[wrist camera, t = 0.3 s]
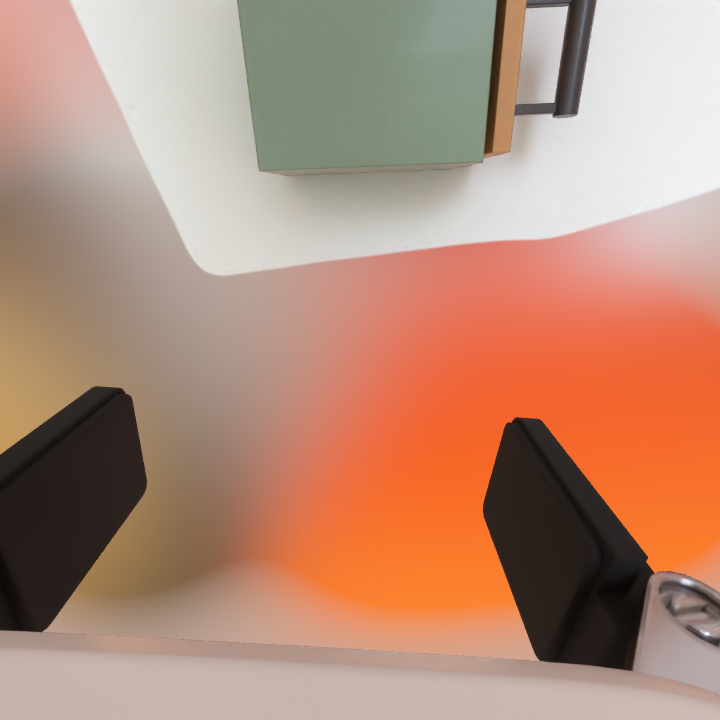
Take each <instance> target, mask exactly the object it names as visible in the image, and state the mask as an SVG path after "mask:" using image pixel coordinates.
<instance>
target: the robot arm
mask: <svg viewBox="0 0 720 720" xmlns="http://www.w3.org/2000/svg"><path fill="white" fill-rule="evenodd" d="M146 486H147V478H146V473H145V467H144V462H143V456H142V451H141V445H140V439H139V434H138V428H137V423H136V417H135V412H134V406H133V401H132V398H131V396H130V395H128V394H126V393H125V391H124V390H123V389H121V388H113V387H99V386H95V387H93V388H91V389H90V390H88V391H87V392H85V393H84V394H83V395H81V396H80V397H79V398H77V399H76V400H75V401H73V402H72V403H70V404H69V405H68V406H66V407H65V408H64V409H62V410H61V411H59V412H58V413H57V414H55V415H54V416H53V417H51V418H50V419H48V420H47V421H46V422H44V423H43V424H42V425H40V426H39V427H38V428H36V429H35V430H33V431H32V432H31V433H29V434H28V435H27V436H25V437H24V438H23V439H21V440H20V441H18V442H17V443H16V444H14V445H13V446H12V447H10V448H9V449H7V450H6V451H5V452H3V453H2V454H0V720H720V593H719V592H718V591H716V590H715V589H713V588H711V587H710V586H708V585H706V584H704V583H703V582H701V581H699V580H697V579H694V578H692V577H690V576H687V575H685V574H681V573H676V572H672V571H659V572H657V573H654V572H653V571H652V569H651V568H650V566H649V565H648V564H647V563H646V560H647V559H648V556H647V555H646V554H645V553H644V551H643V550H642V549H641V548H640V546H639V545H638V544H637V542H636V541H635V540H634V538H633V537H632V536H631V535H630V534H629V532H628V531H627V529H626V528H625V527H624V526H623V524H622V523H621V522H620V521H619V519H618V518H617V517H616V515H615V514H614V513H613V511H612V510H611V509H610V508H609V506H608V505H607V504H606V503H605V501H604V500H603V499H602V497H601V496H600V495H599V494H598V492H597V491H596V490H595V488H594V487H593V486H592V485H591V483H590V482H589V481H588V479H587V478H586V477H585V476H584V474H583V473H582V472H581V471H580V469H579V468H578V467H577V465H576V464H575V463H574V462H573V460H572V459H571V458H570V456H569V455H568V454H567V453H566V451H565V450H564V449H563V447H562V446H561V445H560V444H559V442H558V441H557V440H556V438H555V437H554V436H553V435H552V433H551V432H550V431H549V429H548V428H547V427H546V426H545V424H544V423H543V422H542V421H541V420H540V419H532V418H518V417H516V418H514V420H513V421H512V423H507V424H506V425H505V428H504V431H503V435H502V439H501V442H500V446H499V449H498V453H497V456H496V460H495V464H494V467H493V471H492V474H491V478H490V482H489V485H488V489H487V492H486V496H485V500H484V504H483V514H484V519H485V521H486V524H487V527H488V529H489V532H490V535H491V538H492V540H493V543H494V546H495V548H496V551H497V554H498V556H499V559H500V562H501V564H502V567H503V570H504V572H505V575H506V578H507V580H508V583H509V586H510V589H511V591H512V594H513V596H514V599H515V602H516V605H517V607H518V610H519V613H520V615H521V618H522V621H523V623H524V626H525V629H526V631H527V634H528V637H529V640H530V642H531V645H532V648H533V650H534V653H535V655H536V656H537V658H538V659H539V660H540V661H529V660H516V659H504V658H490V657H474V656H458V655H442V654H426V653H409V652H394V651H376V650H361V649H345V648H327V647H310V646H309V647H308V646H292V645H274V644H257V643H239V642H220V641H202V640H184V639H166V638H165V639H164V638H146V637H125V636H106V635H86V634H66V633H46V632H44V633H43V631H44V630H45V629H47V628H48V626H49V625H50V624H51V623H52V621H53V620H54V619H55V617H56V616H57V615H58V613H59V612H60V610H61V609H62V608H63V606H64V605H65V603H66V602H67V601H68V599H69V598H70V596H71V595H72V594H73V592H74V591H75V589H76V588H77V587H78V585H79V584H80V582H81V581H82V580H83V578H84V577H85V576H86V574H87V573H88V571H89V570H90V569H91V567H92V566H93V564H94V563H95V562H96V560H97V559H98V557H99V556H100V554H101V553H102V552H103V551H104V549H105V548H106V546H107V545H108V544H109V542H110V541H111V539H112V538H113V537H114V535H115V534H116V532H117V531H118V530H119V528H120V527H121V525H122V524H123V523H124V521H125V520H126V519H127V517H128V516H129V514H130V513H131V512H132V510H133V509H134V507H135V506H136V505H137V503H138V502H139V500H140V499H141V498H142V496H143V495H144V493H145V490H146ZM541 661H545V662H541Z"/></svg>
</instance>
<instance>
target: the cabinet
mask: <svg viewBox="0 0 720 720" xmlns="http://www.w3.org/2000/svg"><path fill="white" fill-rule="evenodd" d="M237 3H238V11H239V19H240V27H241V34H242V42H243V50H244V58H245V66H246V74H247V81H248V89H249V97H250V105H251V113H252V120H253V128H254V136H255V144H256V152H257V159H258V167H259V171H262V172H268V173H274V174H280V175H286V176H287V175H312V174H338V173H363V172H389V171H414V170H440V169H453V168H458V167H463V166H468V165H472V164H477V163H482V162H483V158H484V147H485V135H486V123H487V112H488V100H489V88H490V77H491V65H492V53H493V42H494V30H495V18H496V6H497V0H237Z"/></svg>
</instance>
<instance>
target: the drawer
mask: <svg viewBox="0 0 720 720" xmlns="http://www.w3.org/2000/svg"><path fill="white" fill-rule="evenodd" d="M596 1H597V0H497V6H496V18H495V30H494V42H493V53H492V65H491V77H490V88H489V100H488V112H487V123H486V135H485V147H484V158H487V157H491V156H495V155H499V154H503V153H507V152H510V147H511V138H512V129H513V120H514V116H520V115H544V114H553V118H567V117H573V116H576V115H577V114H578V108H579V102H580V96H581V90H582V84H583V78H584V72H585V67H586V61H587V55H588V49H589V43H590V37H591V31H592V25H593V19H594V13H595V7H596ZM568 5H569V6H568ZM563 6H568V13H567V20H566V26H565V33H564V40H563V47H562V54H561V61H560V68H559V75H558V82H557V89H556V95H555V102H554V103H542V104H518V105H515V102H516V93H517V84H518V75H519V66H520V57H521V47H522V38H523V29H524V20H525V11H526V8H541V7H563Z"/></svg>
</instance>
